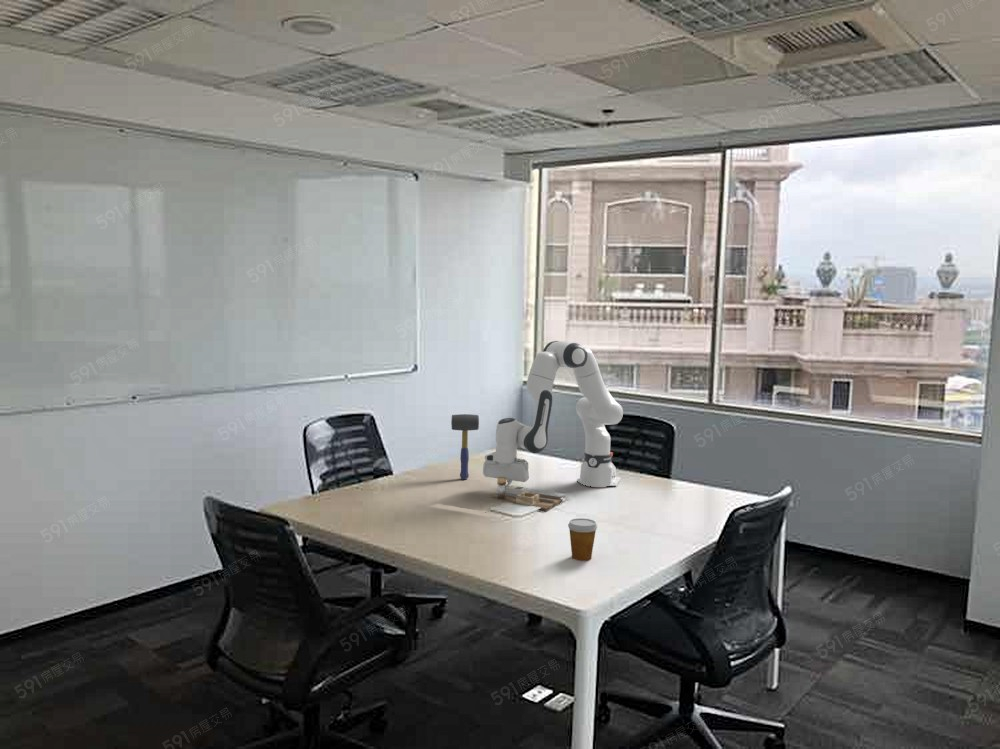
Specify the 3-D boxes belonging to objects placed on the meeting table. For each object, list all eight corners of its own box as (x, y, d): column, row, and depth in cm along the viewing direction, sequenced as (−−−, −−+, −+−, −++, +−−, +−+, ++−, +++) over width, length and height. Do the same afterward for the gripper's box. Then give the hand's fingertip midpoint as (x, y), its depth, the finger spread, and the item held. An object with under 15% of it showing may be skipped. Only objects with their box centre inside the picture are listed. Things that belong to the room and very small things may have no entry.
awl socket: (523, 499, 327) (523, 491, 327) (539, 501, 324) (539, 494, 324) (516, 502, 321) (516, 495, 321) (531, 505, 318) (532, 498, 318)
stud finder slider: (511, 491, 338) (511, 484, 337) (528, 493, 334) (528, 486, 334) (505, 493, 333) (505, 486, 333) (522, 496, 330) (523, 489, 329)
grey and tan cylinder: (499, 496, 330) (499, 476, 330) (507, 497, 329) (507, 477, 328) (495, 498, 327) (495, 478, 326) (503, 499, 326) (503, 479, 325)
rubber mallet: (477, 477, 369) (478, 412, 366) (478, 481, 362) (479, 415, 359) (450, 477, 368) (451, 412, 365) (450, 481, 361) (451, 415, 357)
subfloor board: (505, 493, 341) (506, 488, 340) (562, 502, 329) (562, 496, 328) (488, 502, 327) (488, 496, 326) (546, 511, 315) (546, 505, 314)
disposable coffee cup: (593, 553, 267) (595, 517, 266) (598, 562, 258) (599, 526, 256) (565, 552, 267) (566, 517, 265) (568, 562, 257) (569, 526, 256)
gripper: (531, 458, 333) (531, 491, 334) (488, 453, 342) (488, 484, 344) (525, 461, 327) (524, 494, 329) (481, 455, 337) (480, 487, 338)
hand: (505, 489), depth 336 cm, fingers closed
